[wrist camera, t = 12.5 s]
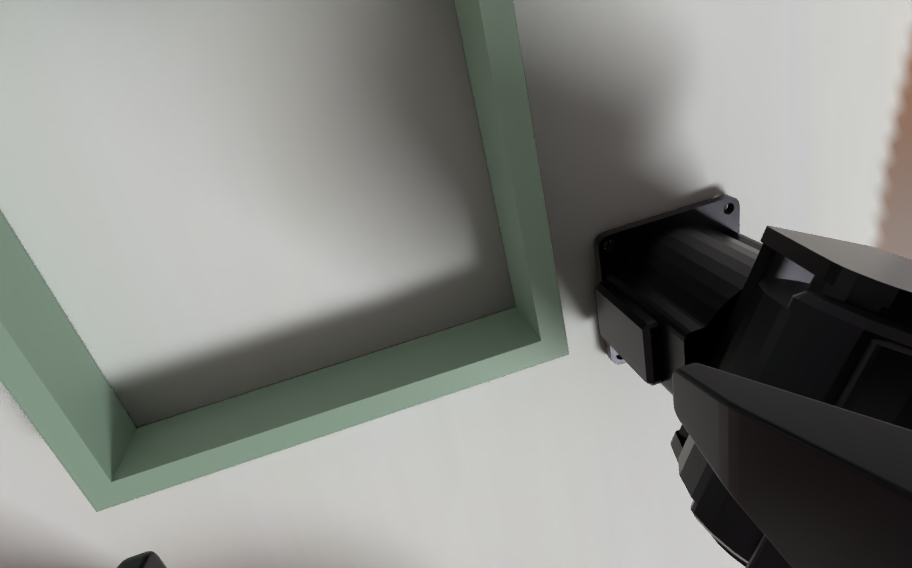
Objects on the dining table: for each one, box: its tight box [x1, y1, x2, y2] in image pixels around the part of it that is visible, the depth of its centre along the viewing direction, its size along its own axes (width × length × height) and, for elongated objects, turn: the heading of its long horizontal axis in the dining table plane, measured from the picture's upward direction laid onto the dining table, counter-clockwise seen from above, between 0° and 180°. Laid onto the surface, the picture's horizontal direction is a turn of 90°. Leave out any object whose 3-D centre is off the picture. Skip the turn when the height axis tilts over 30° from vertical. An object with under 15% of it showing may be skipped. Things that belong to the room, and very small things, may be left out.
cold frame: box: [0, 0, 569, 512], centre depth 18 cm, size 18×18×3 cm
